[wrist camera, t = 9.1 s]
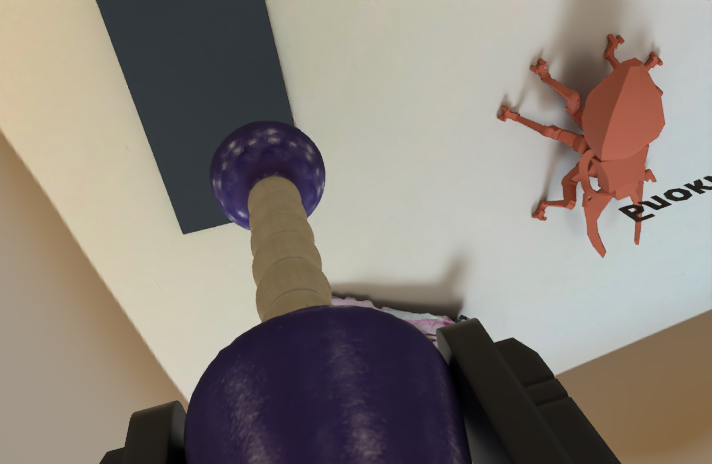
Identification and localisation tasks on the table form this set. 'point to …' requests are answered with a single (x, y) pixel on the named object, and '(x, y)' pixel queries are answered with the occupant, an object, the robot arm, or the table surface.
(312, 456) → the toy lamp
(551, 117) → the table surface
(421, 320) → the boxed toy car
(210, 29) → the mat
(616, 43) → the beetle
